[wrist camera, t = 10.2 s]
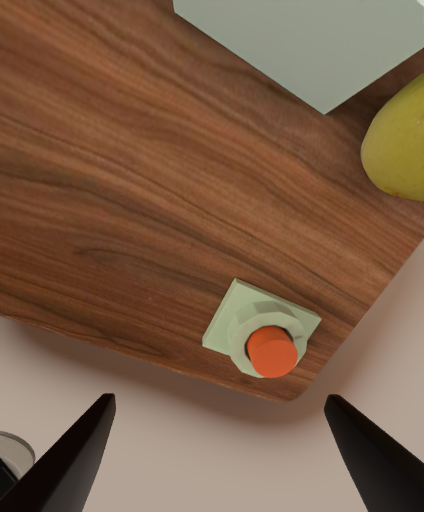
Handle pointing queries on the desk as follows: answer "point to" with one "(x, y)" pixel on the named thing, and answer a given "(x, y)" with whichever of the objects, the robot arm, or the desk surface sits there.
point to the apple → (398, 144)
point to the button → (272, 352)
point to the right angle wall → (314, 40)
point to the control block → (255, 322)
